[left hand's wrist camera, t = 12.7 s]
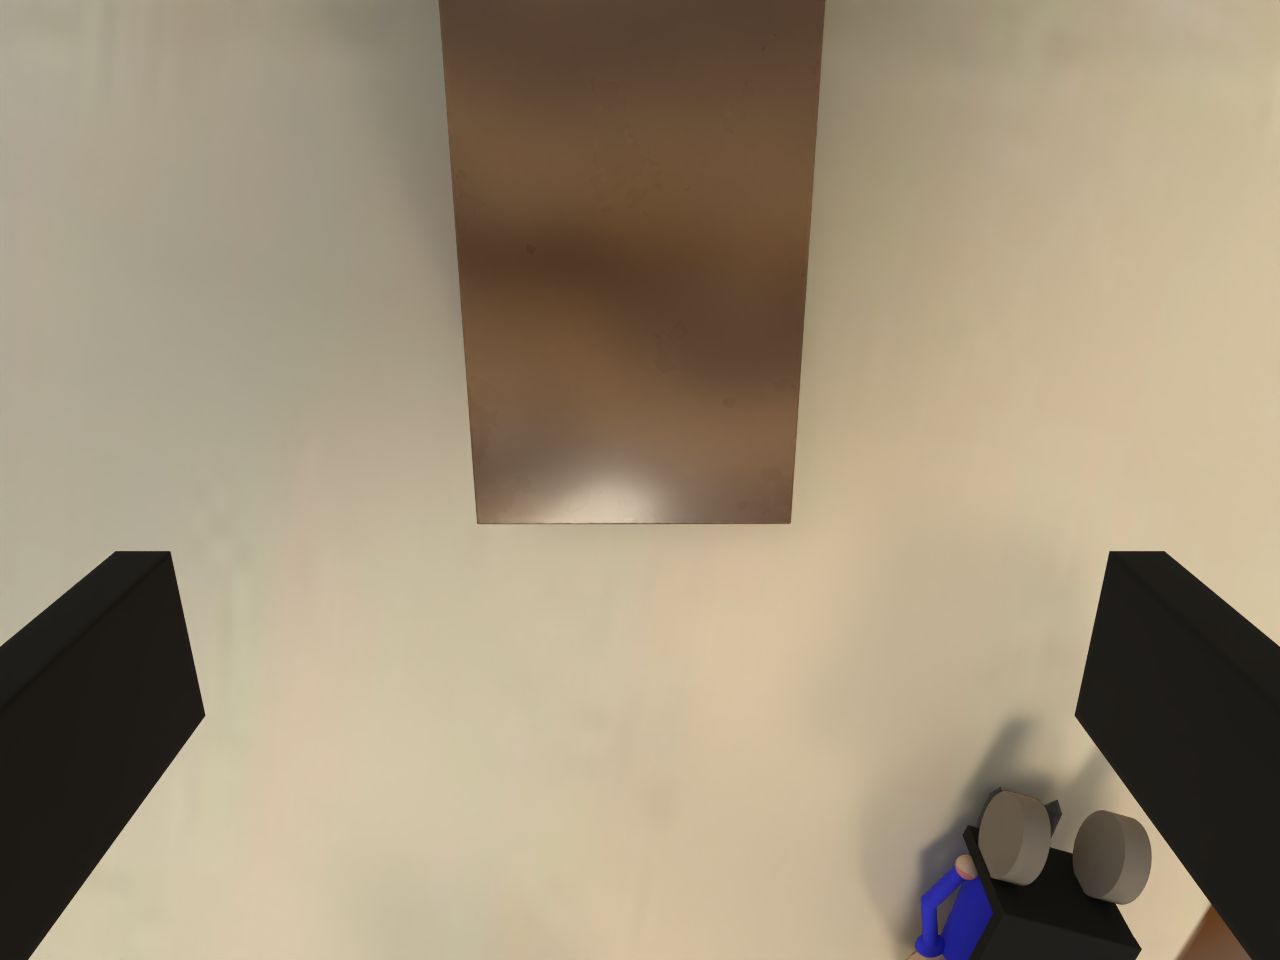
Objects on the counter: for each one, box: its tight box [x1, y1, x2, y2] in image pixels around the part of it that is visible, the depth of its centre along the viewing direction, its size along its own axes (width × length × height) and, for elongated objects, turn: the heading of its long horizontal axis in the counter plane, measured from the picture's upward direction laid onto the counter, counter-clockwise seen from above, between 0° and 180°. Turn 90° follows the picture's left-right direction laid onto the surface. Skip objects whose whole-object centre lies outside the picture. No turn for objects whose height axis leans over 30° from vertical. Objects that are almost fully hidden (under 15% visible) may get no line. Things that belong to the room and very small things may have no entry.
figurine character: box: [907, 786, 1151, 960], centre depth 41 cm, size 7×8×15 cm
